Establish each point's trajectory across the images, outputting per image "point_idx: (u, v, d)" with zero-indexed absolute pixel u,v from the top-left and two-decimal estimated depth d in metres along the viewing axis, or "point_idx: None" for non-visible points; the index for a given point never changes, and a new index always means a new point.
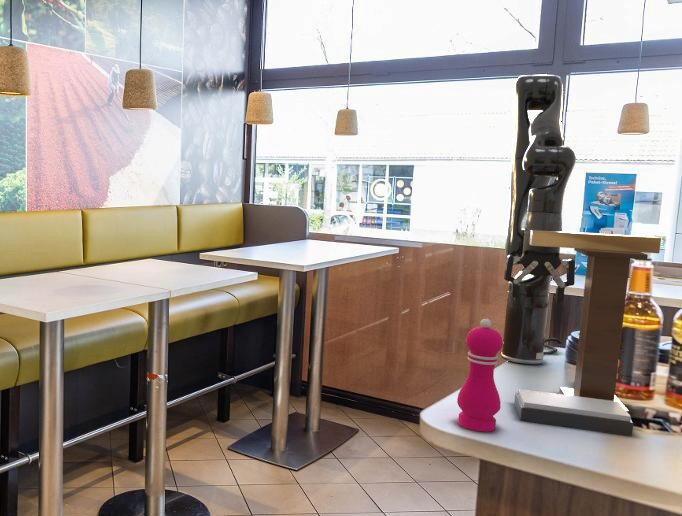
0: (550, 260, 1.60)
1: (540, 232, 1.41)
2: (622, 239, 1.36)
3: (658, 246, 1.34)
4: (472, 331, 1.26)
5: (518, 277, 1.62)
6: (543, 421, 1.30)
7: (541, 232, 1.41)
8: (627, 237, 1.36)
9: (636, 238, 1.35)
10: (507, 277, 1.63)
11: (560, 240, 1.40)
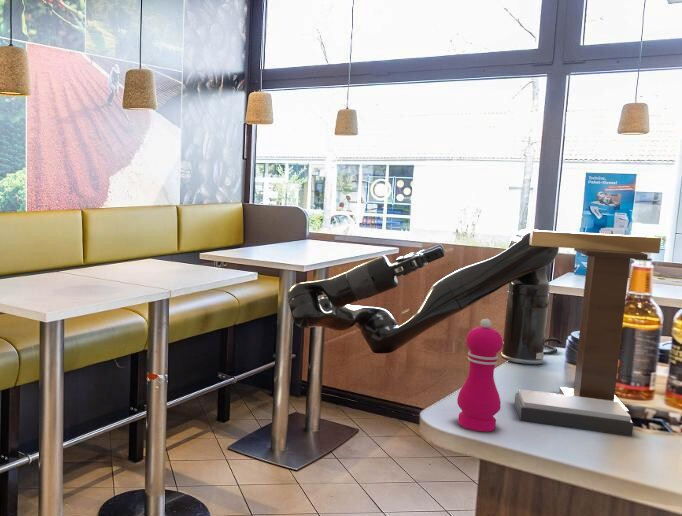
0: (397, 262, 1.56)
1: (540, 232, 1.41)
2: (622, 239, 1.36)
3: (658, 246, 1.34)
4: (472, 331, 1.26)
5: (415, 256, 1.49)
6: (543, 421, 1.30)
7: (541, 232, 1.41)
8: (627, 237, 1.36)
9: (636, 238, 1.35)
10: (415, 256, 1.46)
11: (560, 240, 1.40)
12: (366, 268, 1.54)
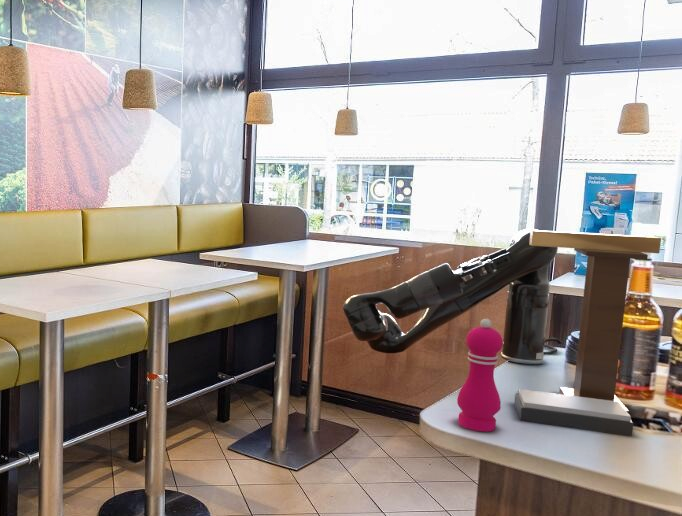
0: (460, 269, 1.50)
1: (540, 232, 1.41)
2: (622, 239, 1.36)
3: (658, 246, 1.34)
4: (472, 331, 1.26)
5: (483, 263, 1.43)
6: (543, 421, 1.30)
7: (541, 232, 1.41)
8: (627, 237, 1.36)
9: (636, 238, 1.35)
10: (484, 263, 1.41)
11: (560, 240, 1.40)
12: (430, 277, 1.48)
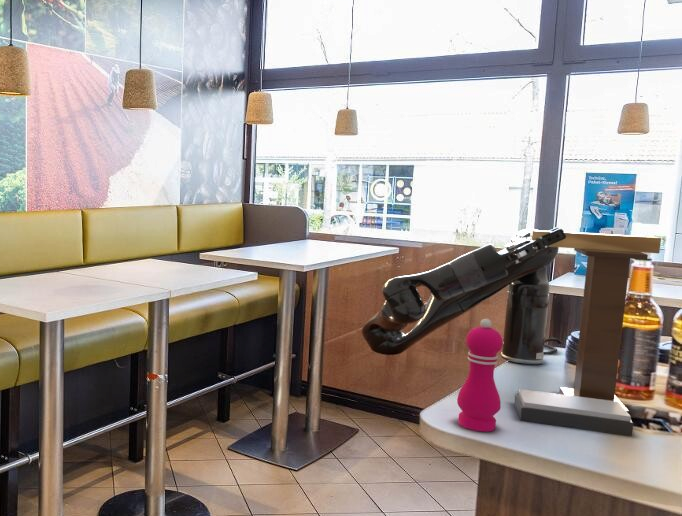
0: (504, 249, 1.47)
1: (540, 232, 1.41)
2: (622, 239, 1.36)
3: (658, 246, 1.34)
4: (472, 331, 1.26)
5: (533, 239, 1.41)
6: (543, 421, 1.30)
7: (541, 232, 1.41)
8: (627, 237, 1.36)
9: (636, 238, 1.35)
10: (536, 239, 1.39)
11: None
12: (474, 257, 1.45)
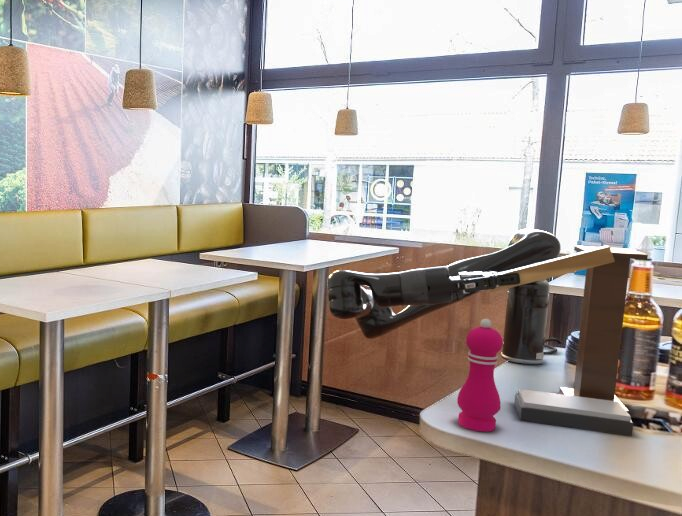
0: (458, 276, 1.43)
1: None
2: (573, 259, 1.32)
3: (610, 255, 1.29)
4: (472, 331, 1.26)
5: (488, 275, 1.37)
6: (543, 421, 1.30)
7: None
8: (577, 256, 1.31)
9: (586, 254, 1.31)
10: (490, 276, 1.35)
11: None
12: (424, 275, 1.41)
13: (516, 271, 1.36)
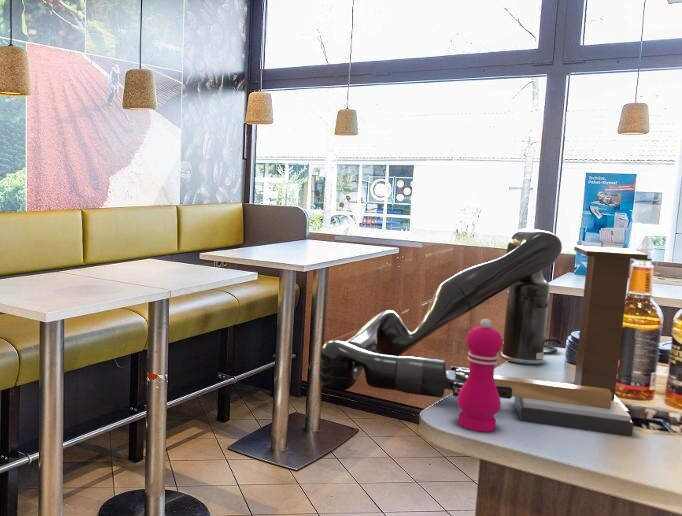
0: (453, 372, 1.42)
1: None
2: (572, 392, 1.31)
3: (609, 401, 1.29)
4: (472, 331, 1.26)
5: None
6: (543, 421, 1.30)
7: None
8: (577, 390, 1.31)
9: (586, 392, 1.30)
10: None
11: None
12: (421, 366, 1.39)
13: (515, 382, 1.35)
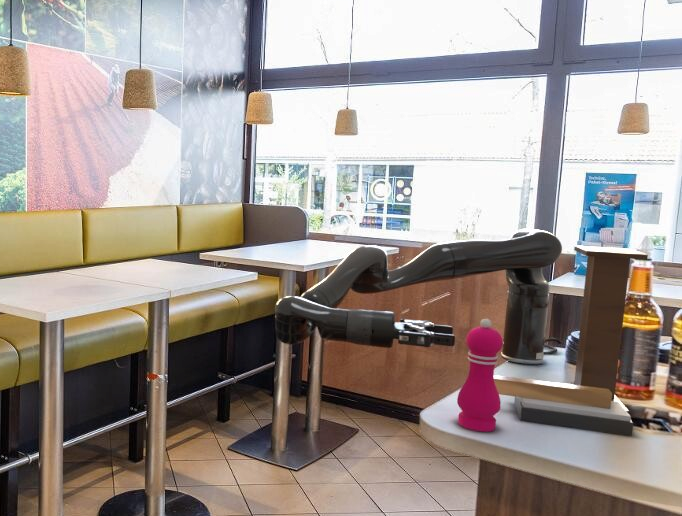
0: (402, 324, 1.46)
1: None
2: (572, 392, 1.31)
3: (609, 401, 1.29)
4: (472, 331, 1.26)
5: (425, 331, 1.38)
6: (543, 421, 1.30)
7: None
8: (577, 390, 1.31)
9: (586, 392, 1.30)
10: (426, 334, 1.36)
11: (509, 389, 1.35)
12: (371, 318, 1.43)
13: (515, 382, 1.35)
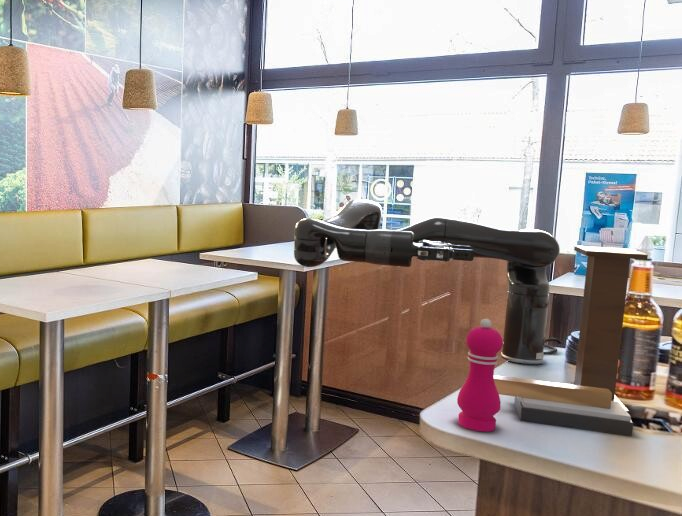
0: None
1: None
2: (572, 392, 1.31)
3: (609, 401, 1.29)
4: (472, 331, 1.26)
5: (444, 247, 1.40)
6: (543, 421, 1.30)
7: None
8: (577, 390, 1.31)
9: (586, 392, 1.30)
10: (445, 248, 1.37)
11: (509, 389, 1.35)
12: (390, 236, 1.45)
13: (515, 382, 1.35)
